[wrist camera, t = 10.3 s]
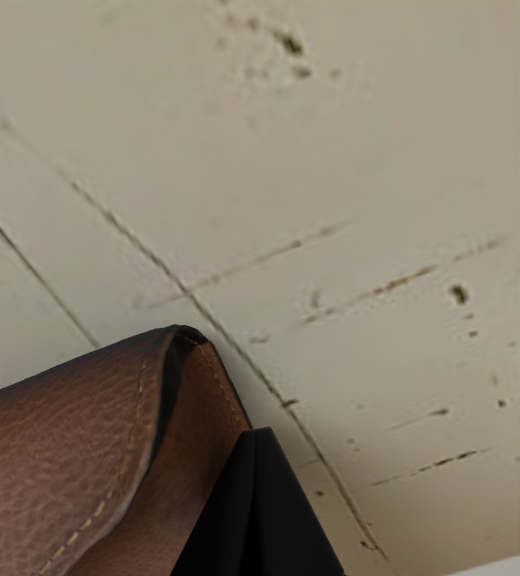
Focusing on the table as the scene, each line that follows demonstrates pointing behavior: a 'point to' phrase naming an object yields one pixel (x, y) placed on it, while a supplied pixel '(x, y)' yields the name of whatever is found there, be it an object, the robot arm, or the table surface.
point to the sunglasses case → (114, 456)
